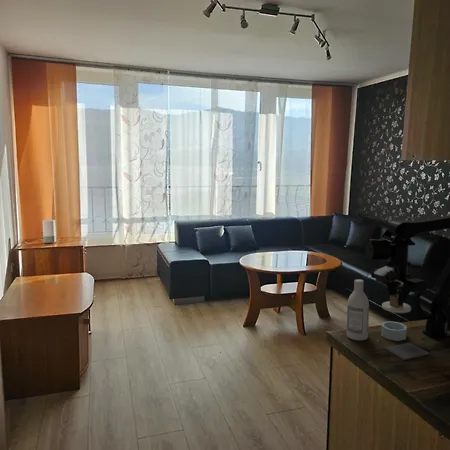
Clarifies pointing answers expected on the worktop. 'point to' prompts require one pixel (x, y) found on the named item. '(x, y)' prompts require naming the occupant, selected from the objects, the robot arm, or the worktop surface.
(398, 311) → the lid
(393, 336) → the bowl
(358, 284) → the bath foam
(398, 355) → the mat
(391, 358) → the worktop surface
